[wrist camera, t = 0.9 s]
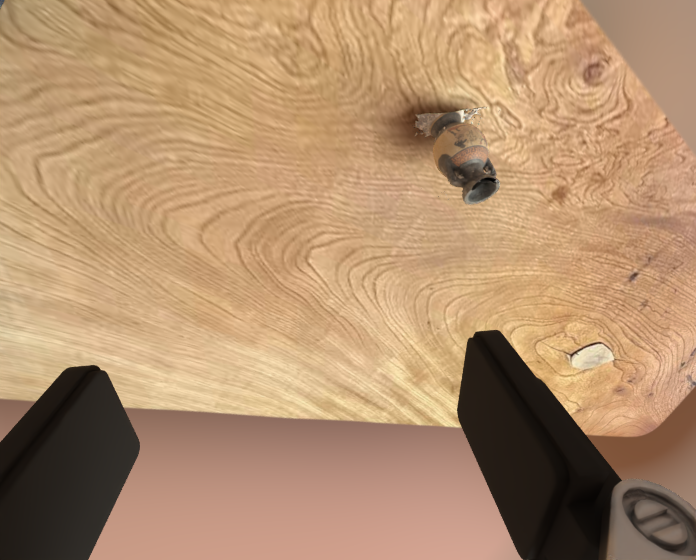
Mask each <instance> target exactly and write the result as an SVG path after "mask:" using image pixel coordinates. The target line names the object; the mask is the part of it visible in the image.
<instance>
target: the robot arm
mask: <svg viewBox="0 0 696 560" xmlns="http://www.w3.org/2000/svg"><path fill="white" fill-rule="evenodd" d="M457 413H458V418H459V422H460V424H461V426H462V429H463V431H464V433H465V435H466V438H467V440H468V442H469V444H470V446H471V449H472V451H473V453H474V455H475V458H476V460H477V462H478V465H479V467H480V469H481V471H482V473H483V476H484V478H485V480H486V482H487V485H488V487H489V489H490V491H491V494H492V496H493V498H494V500H495V503H496V505H497V507H498V509H499V512H500V514H501V516H502V518H503V521H504V523H505V525H506V527H507V529H508V532H509V534H510V536H511V539H512V541H513V543H514V545H515V547H516V550H517V552H518V554H519V555H520V557H521V558H522V559H523V560H696V509H695V508H694V507H693V506H692V505H691V504H689V503H688V502H687V501H685V500H684V499H682V498H681V497H680V496H679V495H677V494H676V493H674V492H672V491H670V490H668V489H667V488H665V487H663V486H661V485H658V484H655V483H652V482H649V481H646V480H640V479H628V480H624V481H622V480H621V479H620V478H619V476H618V475H617V474H616V473H615V471H614V470H613V469H612V468H611V466H610V465H609V464H608V462H607V461H606V460H605V459H604V457H603V456H602V455H601V454H600V453H599V451H598V450H597V449H596V447H595V446H594V445H593V444H592V442H591V441H590V440H589V439H588V437H587V436H586V435H585V434H584V432H583V431H582V430H581V429H580V427H579V426H578V425H577V423H576V422H575V421H574V420H573V418H572V417H571V416H570V415H569V413H568V412H567V411H566V410H565V408H564V407H563V406H562V405H561V403H560V402H559V401H558V400H557V398H556V397H555V396H554V395H553V393H552V392H551V391H550V390H549V388H548V387H547V386H546V384H545V383H544V382H543V381H542V380H540V379H538V378H536V376H535V375H534V374H533V373H532V371H531V370H530V369H529V368H528V366H527V365H526V364H525V362H524V361H523V360H522V359H521V357H520V356H519V355H518V353H517V352H516V351H515V350H514V348H513V347H512V346H511V345H510V343H509V342H508V341H507V339H506V338H505V337H504V336H503V334H502V333H501V332H500V331H498V330H490V331H479V332H475V334H474V336H473V338H469V339H468V342H467V348H466V354H465V361H464V368H463V374H462V381H461V387H460V394H459V401H458V407H457ZM139 450H140V442H139V439H138V437H137V435H136V433H135V431H134V429H133V427H132V425H131V422H130V420H129V418H128V416H127V414H126V412H125V410H124V408H123V406H122V403H121V401H120V399H119V397H118V395H117V393H116V391H115V389H114V387H113V385H112V382H111V380H110V378H109V376H108V374H107V373H106V372H105V371H103V370H100V368H99V367H98V366H95V365H90V366H78V367H70V368H67V369H66V370H64V371H63V372H62V373H61V374H60V376H59V377H58V378H57V379H56V380H55V381H54V382H53V383H52V385H51V386H50V387H49V388H48V389H47V390H46V391H45V392H44V394H43V395H42V396H41V397H40V398H39V399H38V400H37V401H36V403H35V404H34V405H33V406H32V407H31V408H30V410H29V411H28V412H27V413H26V414H25V415H24V416H23V417H22V418H21V420H20V421H19V422H18V423H17V424H16V425H15V426H14V427H13V429H12V430H11V431H10V432H9V433H8V434H7V435H6V436H5V438H4V439H3V440H2V441H1V442H0V560H88V559H89V557H90V555H91V553H92V551H93V548H94V546H95V544H96V542H97V540H98V538H99V536H100V534H101V532H102V530H103V527H104V526H105V523H106V521H107V519H108V517H109V515H110V513H111V511H112V509H113V507H114V505H115V502H116V500H117V498H118V496H119V494H120V492H121V490H122V487H123V486H124V484H125V482H126V479H127V477H128V475H129V473H130V471H131V469H132V467H133V465H134V463H135V461H136V459H137V456H138V454H139Z"/></svg>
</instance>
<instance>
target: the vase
mask: <svg viewBox="0 0 696 560" xmlns="http://www.w3.org/2000/svg"><path fill="white" fill-rule="evenodd" d="M482 108H484V109H486V108H487V107H479V108H473V110H472V111H471V109H469V110H470V111H471V112H470V113H468V114H467V113H465V112H464V109H460V111H455V112H449V113H438V114H437V113H434V114H431V113H426V114H418V115H416V116H417V118H418V121H415V123H416V124H415V126H416V128H417V127H418V128H419V129H420V130H419V131H421V130H423V131H424V133H426V136H425V137H428V136H432V137H434V138H435V140H434V141H435V142H434V149H433V155H434V160H435V163H436V166H437V168H438V169H439V171H440V172H441V173H442V174H443V175H444V176H445V177H447V178H448V181H449V182H450V184H451V185H453V186H456V187H463V191H462V192H463V194H462V197H463V201H464V202H465V203H466V204H477V203H480V202H483V201H485V200H486V199H488V198H490V197H491V196H492V195H493V194H495V193H496V192H497V191H498V189H499V187H500V182H499V180H498V179H496V178H495V177H496V171H495V169H494V167H493V165H492V163H491V162H490V160H489V158H488V155H489V146H488V142H487V140H486V138H485V136H484V135H483V133H482V132H481V131H480V130H479V129H478V128H477V127H478V126H477V127H475V126H473V125H471V124H472V121H471V124H468V123H464V122H463V121H464V120H466V119H470V118H472V115H473V114H476V113H477V111H479V109H482ZM465 111H468V109H465ZM499 111H500V110H499ZM477 114H478V113H477ZM463 116H464V117H465V118H463ZM474 118H475V117H474ZM480 119H482V118H481V117H480ZM472 120H474V119H472ZM479 122H480V121H479ZM478 125H479V123H478ZM414 128H415V127H414ZM417 133H418V132H416V134H415V135H416V136H417ZM419 134H420V133H419ZM421 134H423V132H421ZM483 169H484V170H485V171H486V173H484V171H483ZM421 189H422V188H421ZM444 192H445V191H444ZM441 193H442V192H441ZM438 197H439V196H438ZM448 200H449V199H448Z"/></svg>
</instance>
